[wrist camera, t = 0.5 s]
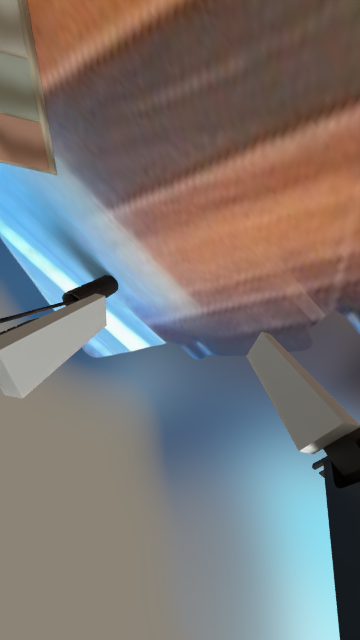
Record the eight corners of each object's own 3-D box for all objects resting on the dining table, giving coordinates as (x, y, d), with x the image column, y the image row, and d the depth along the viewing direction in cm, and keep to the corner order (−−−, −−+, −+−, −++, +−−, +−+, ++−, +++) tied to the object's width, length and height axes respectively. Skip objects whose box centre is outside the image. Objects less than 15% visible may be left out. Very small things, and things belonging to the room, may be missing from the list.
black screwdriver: (120, 309, 41) (15, 395, 16) (90, 293, 39) (-79, 363, 14) (130, 283, 37) (13, 343, 12) (98, 265, 36) (-116, 292, 11)
